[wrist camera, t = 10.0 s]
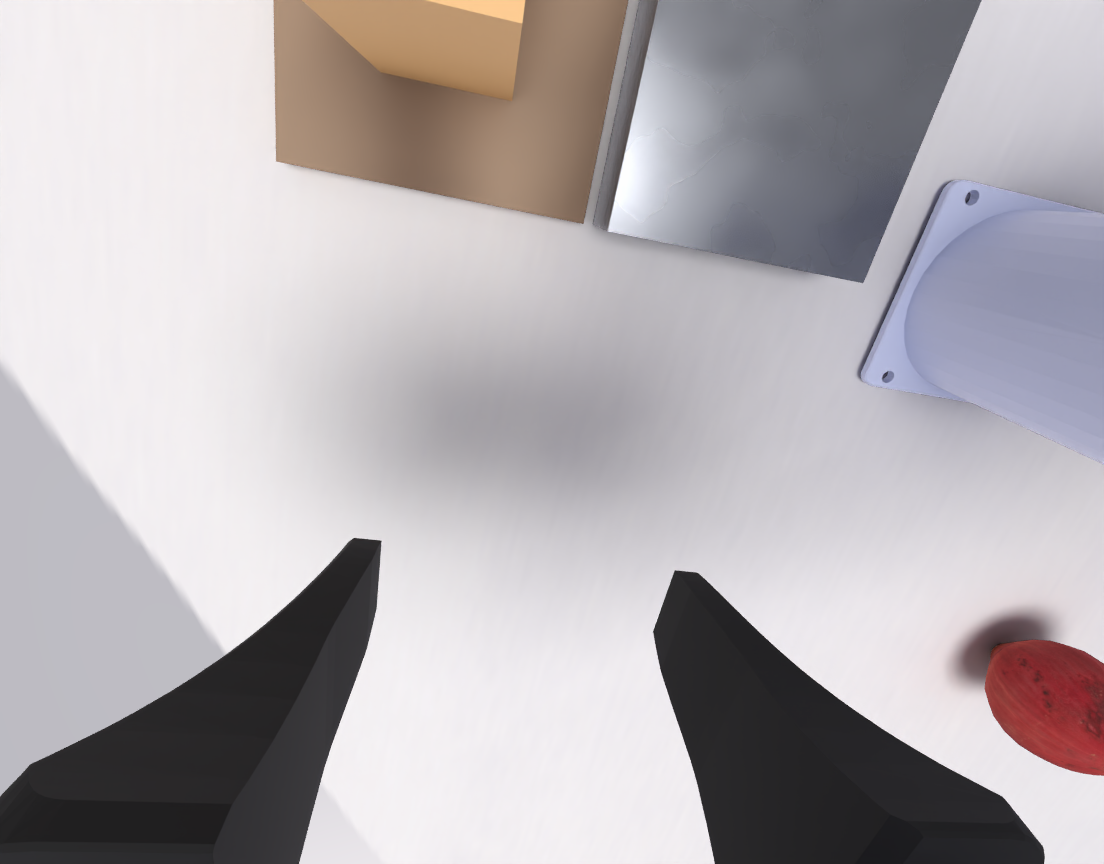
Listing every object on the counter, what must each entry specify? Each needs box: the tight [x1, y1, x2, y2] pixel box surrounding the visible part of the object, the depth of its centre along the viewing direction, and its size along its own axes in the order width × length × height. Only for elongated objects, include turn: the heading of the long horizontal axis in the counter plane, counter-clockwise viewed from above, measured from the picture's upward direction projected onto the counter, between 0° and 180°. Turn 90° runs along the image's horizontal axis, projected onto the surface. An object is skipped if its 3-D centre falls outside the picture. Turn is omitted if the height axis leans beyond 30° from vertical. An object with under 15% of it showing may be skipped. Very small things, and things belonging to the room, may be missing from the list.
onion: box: [985, 640, 1104, 776], centre depth 27 cm, size 6×6×8 cm
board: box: [274, 0, 628, 224], centre depth 16 cm, size 10×10×1 cm
